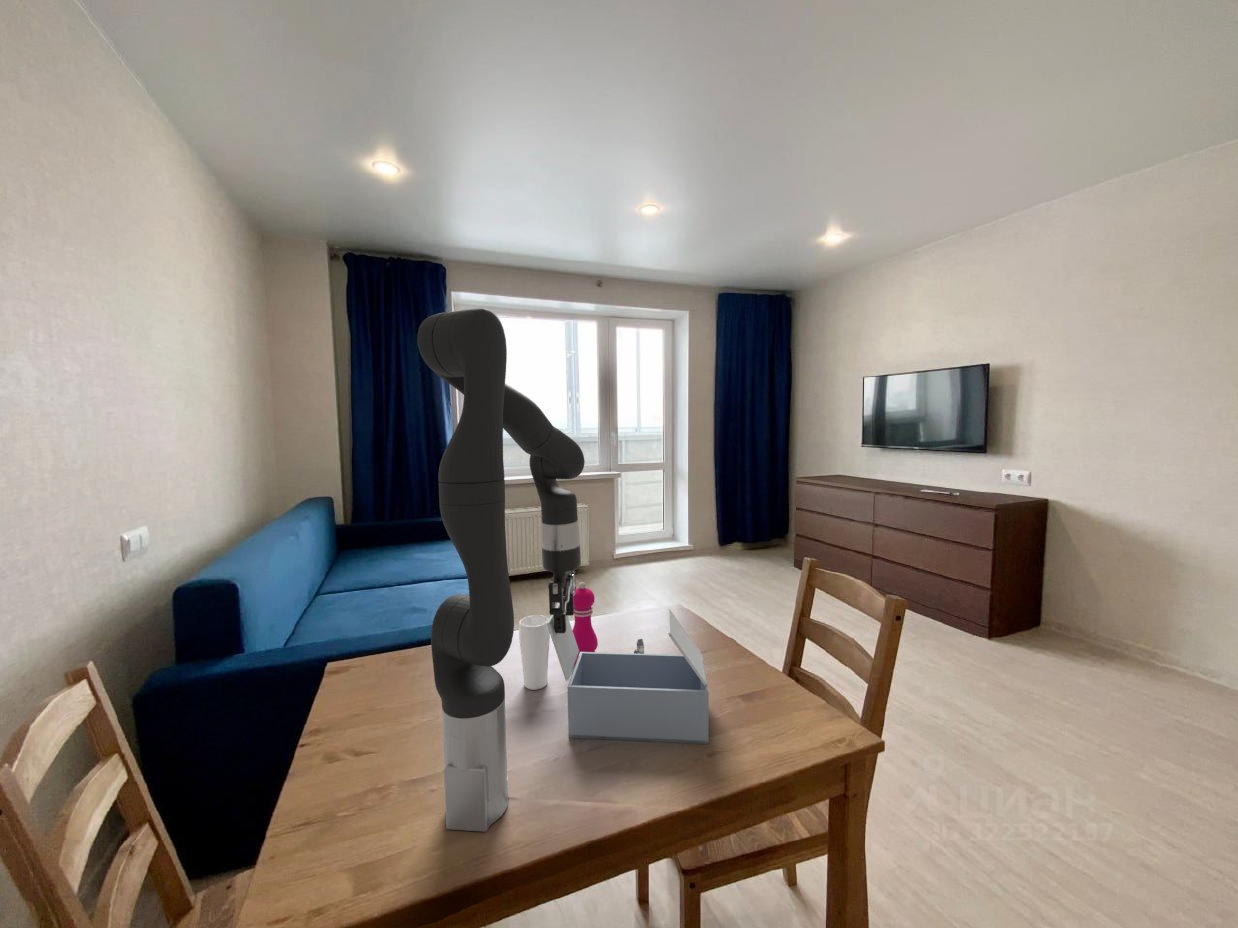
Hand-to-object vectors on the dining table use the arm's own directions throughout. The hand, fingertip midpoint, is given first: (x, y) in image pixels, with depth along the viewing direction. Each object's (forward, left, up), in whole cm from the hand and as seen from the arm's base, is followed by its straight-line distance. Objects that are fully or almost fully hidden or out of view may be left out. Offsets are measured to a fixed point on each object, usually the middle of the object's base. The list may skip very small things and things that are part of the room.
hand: (564, 623), depth 97 cm
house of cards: (+20, -16, -20) cm, 32 cm away
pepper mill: (+23, 0, -19) cm, 30 cm away
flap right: (0, -27, -9) cm, 29 cm away
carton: (0, -15, -19) cm, 24 cm away
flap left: (0, -2, -9) cm, 9 cm away
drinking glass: (+11, +9, -19) cm, 24 cm away
